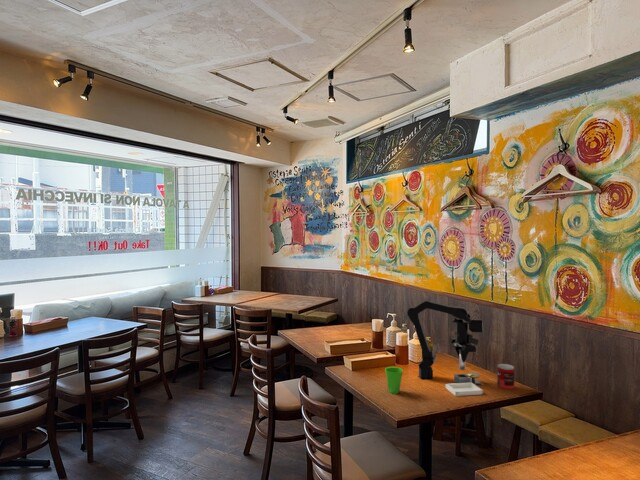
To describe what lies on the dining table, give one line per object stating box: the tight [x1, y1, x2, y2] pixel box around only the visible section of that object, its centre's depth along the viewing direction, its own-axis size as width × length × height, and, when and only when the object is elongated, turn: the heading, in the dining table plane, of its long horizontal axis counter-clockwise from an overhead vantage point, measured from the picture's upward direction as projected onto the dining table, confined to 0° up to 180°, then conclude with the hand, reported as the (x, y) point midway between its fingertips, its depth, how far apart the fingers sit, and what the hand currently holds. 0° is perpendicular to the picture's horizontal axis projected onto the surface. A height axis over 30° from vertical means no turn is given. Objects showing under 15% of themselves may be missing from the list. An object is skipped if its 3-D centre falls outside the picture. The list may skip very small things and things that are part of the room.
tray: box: [445, 382, 484, 397], centre depth 202 cm, size 14×11×2 cm
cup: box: [384, 366, 404, 395], centre depth 203 cm, size 9×9×11 cm
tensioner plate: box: [452, 371, 485, 386], centre depth 214 cm, size 13×9×5 cm
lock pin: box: [458, 352, 466, 371], centre depth 214 cm, size 3×3×9 cm
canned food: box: [496, 363, 515, 391], centre depth 208 cm, size 8×8×11 cm
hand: (462, 361), depth 214 cm, fingers closed on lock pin, 3 cm apart
